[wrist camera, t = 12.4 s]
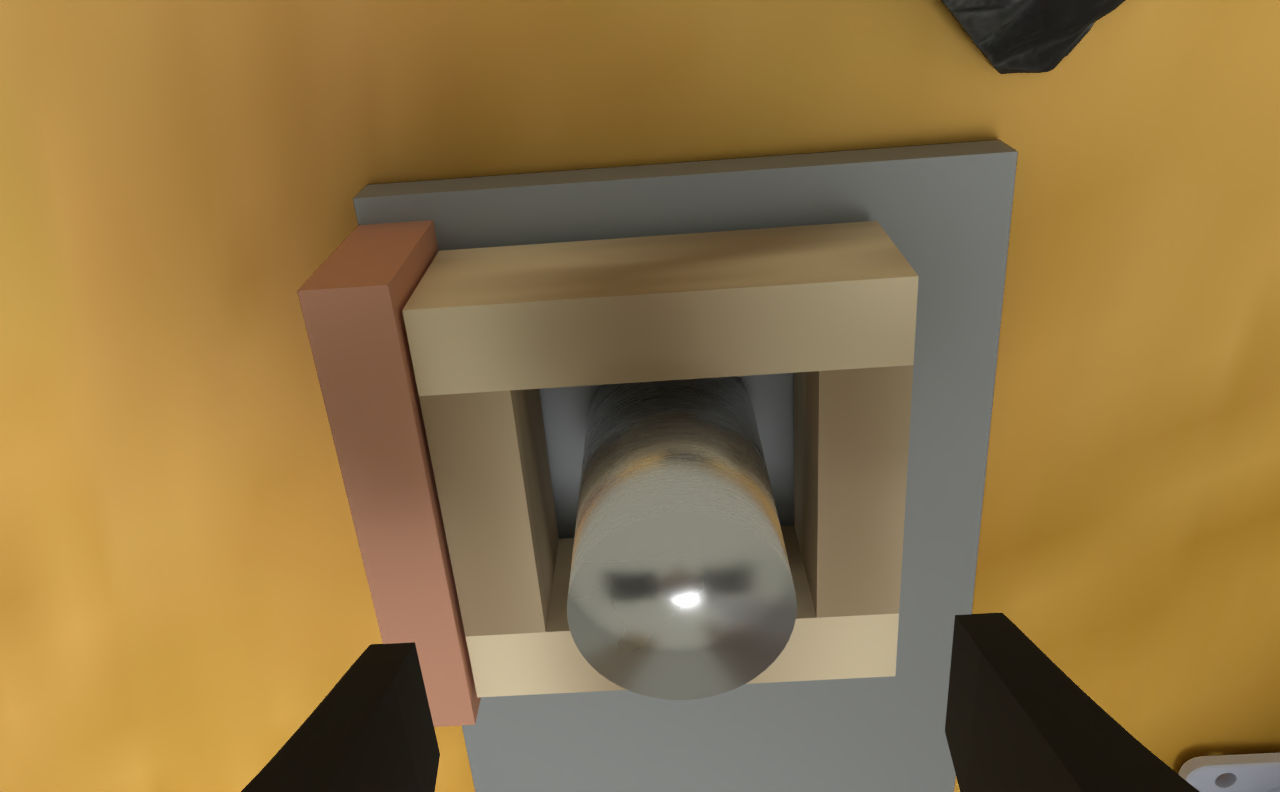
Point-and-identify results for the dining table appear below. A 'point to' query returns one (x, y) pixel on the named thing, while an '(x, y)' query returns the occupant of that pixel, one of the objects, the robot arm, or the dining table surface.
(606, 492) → the peg
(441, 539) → the board
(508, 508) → the wooden square ring
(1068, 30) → the stone slab
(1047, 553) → the dining table surface
